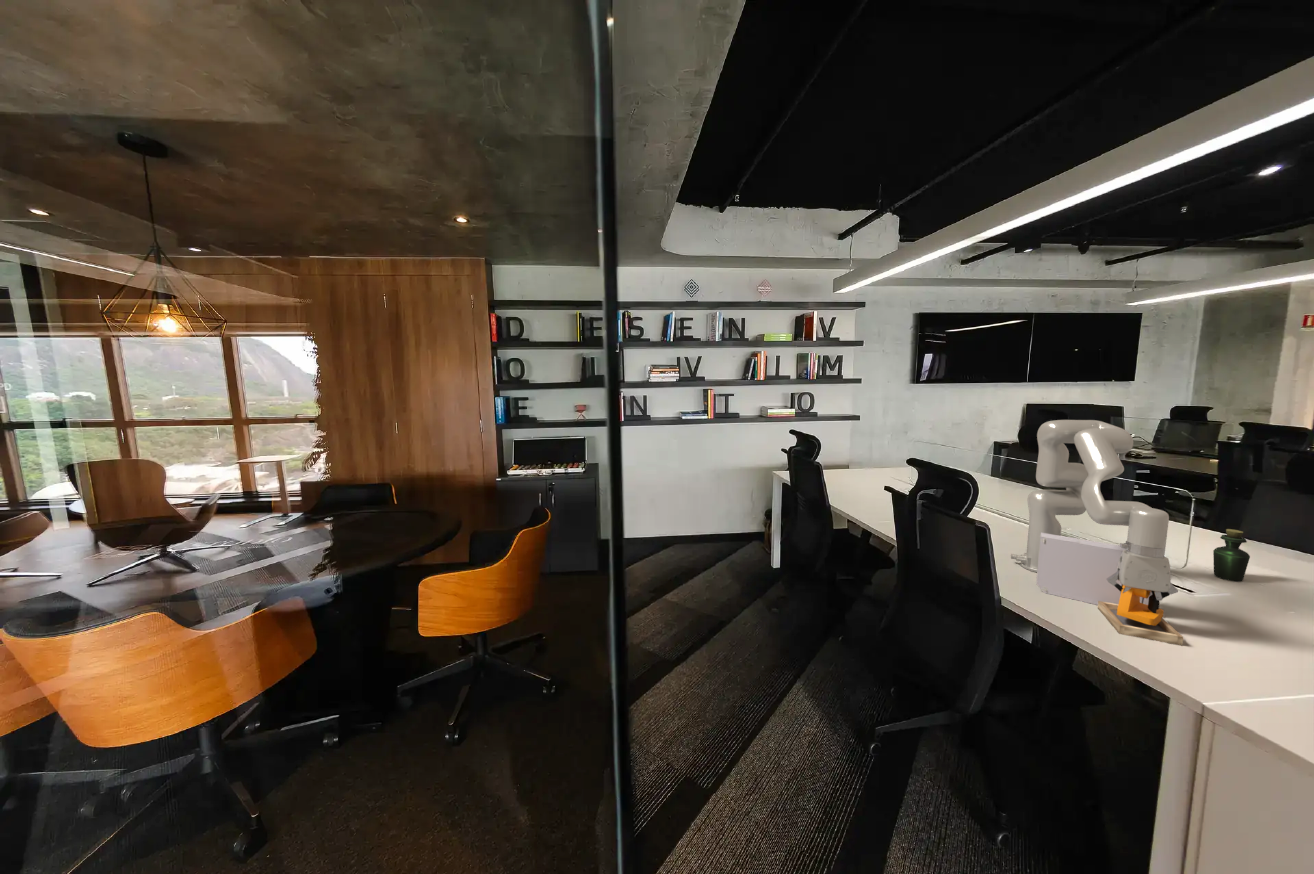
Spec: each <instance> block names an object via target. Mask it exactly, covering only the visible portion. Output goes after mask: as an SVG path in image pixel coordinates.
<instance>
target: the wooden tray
mask: <svg viewBox="0 0 1314 874" xmlns="http://www.w3.org/2000/svg"><path fill="white" fill-rule="evenodd" d="M1097 609H1098V610H1099V612H1100V613H1101V614H1102V615H1103V616H1104V618H1105V619H1106V620H1107V621H1108V623H1109V624H1110V625H1111V626H1112V627H1113V628H1114V630H1116V632H1117V633H1118V634H1119V635H1125V636H1130V637H1136V638H1139V639H1140V638H1141V639H1144V640H1145V639H1146V640H1149V641H1150V640H1151V641H1156V642H1162V643H1166V644H1171V645H1176V646H1181V647H1183V642H1184V636H1183V635H1181V634H1180V633H1179V632H1178V631H1177V630H1176V629H1175V628H1174V627H1173V626H1172V625H1171V624H1169V623H1168V622H1167V621H1166V620H1165V619H1164V617H1162V618H1161V621H1160V622H1159V623H1158V624H1157V625H1156V626H1153V625H1148V624H1145V623H1142V622H1139V621H1135V620H1132V619H1129V618H1126V617H1123V616H1120V615H1117V609H1118V604H1114V603H1108V602H1102V601H1098V605H1097Z"/></svg>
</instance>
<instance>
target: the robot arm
mask: <svg viewBox="0 0 1314 874" xmlns="http://www.w3.org/2000/svg"><path fill="white" fill-rule="evenodd" d="M1036 437H1037V438H1036V440H1037V445H1038V457H1037V463H1036V472H1035V479H1036V482H1037V484H1038V485H1040V486H1043V487H1047V488H1065V489H1037V490H1033V491H1032V492H1030V493H1029V494H1028V496H1027V506H1028V507H1027V508H1028V515H1029V516H1028V529H1027V530H1028V532H1027V545H1026V552H1024V553H1023V554H1014V553H1013V554H1012V553H1011V554H1010V559H1011V560H1015V561H1016V562H1020V566H1021V567H1022V568H1024V569H1026V570H1028V571H1031V572H1034V573H1037V571H1038V559H1039V548H1040V536H1041V533H1046V534H1053V535H1059V536H1062V525H1061V523H1060V521H1059V520H1058V519H1057V517H1056V516H1080V515H1083V514H1084V513H1085V512H1086V513H1087V514H1088V517H1089V518H1090V519H1091V520H1092V522H1093V521H1094V522H1095V523H1096V524H1099V525H1104V526H1125V527H1128V529H1127V537H1126V538H1127V539H1126V541H1125V542H1123V543H1122V542H1121V543H1119V545H1120V547H1121V548H1124V549H1126V550H1123V552H1122V554H1121V556H1120V559H1119V562H1118V566H1117V571H1116V573H1114V574H1113V575H1111V576H1110V577H1108V578H1107V579H1106V580H1107V581H1108V582H1109V583H1111V584H1112V585H1113V586H1115V587H1116V588H1117V589H1118V590H1119V591H1120V592H1121V591H1122V589H1123V592H1126V591H1128V590H1129V589H1131V588H1137V589H1144V590H1150V591H1151V593H1152V595H1151V596H1149V601H1148V609H1149V610H1150V611H1151V612H1153V613H1156V610H1158V609H1159V608H1160V602H1161V601H1163V599H1165V598H1166V597H1169V596H1170V595H1174V594H1177V593H1178V592H1179V590H1178V589H1177V588H1176V586H1174V584H1173V583H1172V581H1171V579H1172V577H1171V575H1172V574H1171V565H1170V560H1169V558H1168V557H1167V556H1165V554H1166V547H1167V546H1166V545H1167V539H1168V538H1167V537H1168V530H1169V523H1170V522H1169V521H1170V516H1169V513H1168V512H1166V511H1164V510H1163V509H1158V508H1154V507H1153V508H1152V507H1151V506H1149V505H1148V504H1145V503H1143V502H1139V501H1131V500H1125V501H1124V500H1105V498H1104V496H1103V494H1102V492H1101V484H1102V482H1104V481H1107V480H1110V479H1113V478H1115V477H1118V476H1120V475H1122V474H1123V472H1124V471H1125V467H1124V465H1123V463H1122V461H1121V459H1120V457H1119V455H1118V454H1125V453H1128V452H1130V451H1131V450H1132V449H1133V447H1134V439H1133V436H1132V435H1131V434H1130V432H1129V431H1127V430H1126V429H1124V428H1122V427H1119V426H1116V425H1113V424H1111V423H1108V422H1104V421H1102V420H1095V419H1057V420H1050V421H1046V422H1044V423H1042V424H1041V425H1040V426H1039V428H1038V430H1037V433H1036ZM1065 444H1074V445H1075V448H1076V450H1077V452H1078V454H1079V457H1080V459H1081V462H1082V463H1079V462H1069V457H1070V453H1069V452H1070V451H1069V449H1068V448H1067V445H1065ZM1116 580H1119V581H1120V583H1121V586H1120V585H1119V584H1118V583H1117V582H1116ZM1123 585H1124V586H1125V587H1124V588H1122V587H1123ZM1123 592H1122V593H1123Z"/></svg>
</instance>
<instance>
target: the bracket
mask: <svg viewBox="0 0 1314 874" xmlns="http://www.w3.org/2000/svg"><path fill="white" fill-rule="evenodd" d="M1124 587H1125V586H1124V585H1123V587H1122V588H1124ZM1122 592H1123V589H1122V591H1121V595H1120V600H1119V604H1118V609H1117V615H1120V616H1123V617H1126V618H1129V619H1132V620H1135V621H1139V622H1142V623H1145V624H1148V625H1153V626H1156V625H1157V624H1158V623H1159V622H1160V621H1161V618H1164V611H1165V610H1164V609H1162V608H1160V607H1159V609H1158V610H1156V613H1153V612H1151V611H1150V610H1149V609H1148V605H1146V604H1143V603H1140V597H1143V598H1148V597H1149V595H1150V592H1151V591H1150V590H1144V589H1137V588H1131V589H1129V590H1128V591H1126V592H1123V593H1122Z"/></svg>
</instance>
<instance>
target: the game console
mask: <svg viewBox="0 0 1314 874" xmlns="http://www.w3.org/2000/svg"><path fill="white" fill-rule="evenodd" d="M1123 550H1126V549H1124V548H1121V547H1120V544H1114V543H1108V542H1101V541H1094V540H1091V539H1090V540H1087V539H1083V538H1078V537H1077V538H1076V537H1070V536H1065V535H1061V536H1059V535H1053V534H1046V533H1041V536H1040V548H1039V559H1038V571H1037V572H1036V582H1035V583H1036V585H1037V587H1038V588H1039V589H1040V591H1042V592H1043V593H1044V594H1049V595H1053V596H1057V597H1062V598H1064V599H1065V598H1066V599H1071V600H1075V601H1079V602H1083V603H1088V604H1092V605H1096V606H1098V601H1102V602H1108V603H1114V604H1119V600H1120V595H1121V592H1120V591H1119V590H1118V589H1117V588H1116V587H1115V586H1113V585H1112V584H1111V583H1109V582H1108V581H1107V580H1106V579H1107V578H1108V577H1110V576H1111V575H1113V574H1114V573H1116V571H1117V566H1118V562H1119V559H1120V556H1121V554H1122V552H1123ZM1116 582H1117V583H1118V584H1119V585H1120V586H1121V583H1120V581H1119V580H1116ZM1151 595H1152V593H1151V592H1150V595H1149V596H1151ZM1148 601H1149V597H1148V598H1143V597H1140V603H1143V604H1146V605H1148Z"/></svg>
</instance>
